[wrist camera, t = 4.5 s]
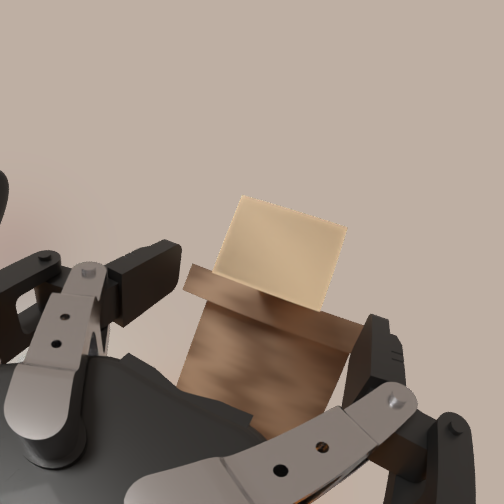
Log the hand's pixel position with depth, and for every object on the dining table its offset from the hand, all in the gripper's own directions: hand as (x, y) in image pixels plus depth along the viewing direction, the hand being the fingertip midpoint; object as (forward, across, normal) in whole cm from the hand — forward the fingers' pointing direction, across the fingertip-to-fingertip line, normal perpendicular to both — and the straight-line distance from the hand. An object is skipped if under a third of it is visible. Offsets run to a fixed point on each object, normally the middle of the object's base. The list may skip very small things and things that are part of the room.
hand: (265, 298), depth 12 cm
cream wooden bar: (+10, 0, +5) cm, 11 cm away
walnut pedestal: (-4, 0, +34) cm, 35 cm away
